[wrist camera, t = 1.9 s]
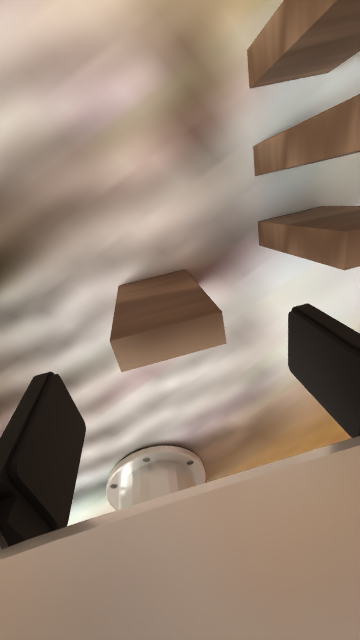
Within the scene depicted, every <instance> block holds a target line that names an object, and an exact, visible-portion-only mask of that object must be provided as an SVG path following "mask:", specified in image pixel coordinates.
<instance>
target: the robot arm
mask: <svg viewBox="0 0 360 640" xmlns="http://www.w3.org/2000/svg"><path fill="white" fill-rule="evenodd" d="M288 366H289V369H290V371H291V372H292V374H293V375H294V376H295V377H296V378H297V379H298V380H299V381H300V382H301V383H302V385H303V386H304V387H305V388H306V389H307V390H308V391H309V392H310V393H311V394H312V395H313V396H314V398H315V399H316V400H317V401H318V402H319V403H320V404H321V405H322V406H323V407H324V408H325V409H326V411H327V412H328V413H329V414H330V415H331V416H332V417H333V418H334V419H335V420H336V421H337V422H338V424H339V425H340V426H341V427H342V428H343V429H344V430H345V431H346V432H347V433H348V434H349V435H350V436H351V437H352V438H351V439H348V440H345V441H341V442H338V443H335V444H331V445H328V446H325V447H321V448H318V449H315V450H311V451H308V452H305V453H302V454H298V455H295V456H292V457H288V458H285V459H282V460H278V461H275V462H272V463H268V464H265V465H262V466H259V467H255V468H252V469H249V470H246V471H242V472H239V473H236V474H233V475H229V476H226V477H223V478H220V479H216V480H213V481H210V482H207V483H205V480H206V474H205V469H204V466H203V463H202V461H201V460H200V458H199V457H198V456H197V455H196V454H195V453H193V452H191V451H189V450H187V449H184V448H181V447H177V446H154V447H149V448H145V449H142V450H139V451H137V452H135V453H132V454H131V455H129V456H127V457H126V458H124V459H123V460H122V461H120V462H119V463H118V464H117V465H116V466H115V467H114V468H113V470H112V471H111V473H110V475H109V477H108V480H107V487H106V495H107V500H108V501H109V503H110V505H111V506H112V507H113V508H114V509H115V510H117V511H114V512H111V513H107V514H104V515H101V516H98V517H95V518H91V519H88V520H85V521H82V522H79V523H76V524H73V525H70V526H67V524H68V520H69V515H70V509H71V504H72V499H73V494H74V489H75V484H76V479H77V473H78V468H79V463H80V458H81V453H82V448H83V443H84V437H85V432H86V426H85V422H84V420H83V418H82V416H81V414H80V413H79V411H78V409H77V407H76V405H75V403H74V401H73V400H72V398H71V396H70V394H69V392H68V390H67V389H66V387H65V385H64V383H63V381H62V379H61V377H60V376H59V375H58V374H54V373H53V372H48V373H44V374H40V375H36V376H34V377H33V379H32V381H31V383H30V385H29V386H28V388H27V390H26V392H25V394H24V396H23V397H22V399H21V401H20V403H19V405H18V407H17V408H16V410H15V412H14V414H13V416H12V418H11V419H10V421H9V423H8V425H7V427H6V429H5V430H4V432H3V434H2V436H1V438H0V640H360V334H359V333H358V332H356V331H354V330H353V329H351V328H349V327H348V326H346V325H344V324H342V323H341V322H339V321H337V320H336V319H334V318H332V317H331V316H329V315H327V314H326V313H324V312H322V311H320V310H319V309H317V308H315V307H314V306H312V305H310V304H303V305H300V306H296V307H293V308H292V311H291V312H289V314H288ZM66 526H67V527H66Z"/></svg>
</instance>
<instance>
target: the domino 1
mask: <svg viewBox="0 0 360 640" xmlns="http://www.w3.org/2000/svg"><path fill="white" fill-rule="evenodd" d="M110 343H111V346H112V348H113V351H114V354H115V356H116V359H117V362H118V364H119V367H120V369H121V372H124V371H128V370H131V369H135V368H139V367H142V366H146V365H150V364H153V363H157V362H160V361H164V360H168V359H171V358H175V357H179V356H182V355H186V354H190V353H193V352H197V351H200V350H204V349H208V348H211V347H215V346H219V345H222V344H226V337H225V330H224V323H223V316H222V311H221V310H220V309H219V308H218V307H217V305H216V304H215V303H214V302H213V301H212V300H211V298H210V297H209V296H208V295H207V294H206V293H205V292H204V290H203V289H202V288H201V287H200V286H199V285H198V283H197V282H196V281H195V280H194V279H193V278H192V277H191V275H190V274H189V273H188V272H187V271H186V270H181V271H177V272H173V273H169V274H165V275H161V276H157V277H153V278H149V279H145V280H141V281H137V282H133V283H129V284H125V285H121V286H119V287H118V293H117V300H116V306H115V312H114V318H113V324H112V330H111V337H110Z"/></svg>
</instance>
